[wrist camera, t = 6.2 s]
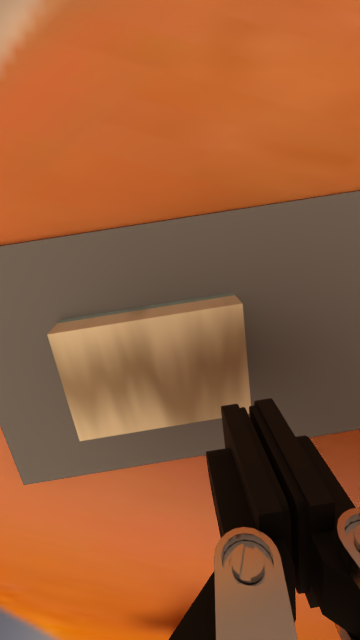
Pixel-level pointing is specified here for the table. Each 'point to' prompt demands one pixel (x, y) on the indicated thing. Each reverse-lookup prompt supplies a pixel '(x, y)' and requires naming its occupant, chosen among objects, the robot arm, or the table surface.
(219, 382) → the tile
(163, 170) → the table surface
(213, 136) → the table surface
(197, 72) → the table surface
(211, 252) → the mat
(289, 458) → the robot arm
